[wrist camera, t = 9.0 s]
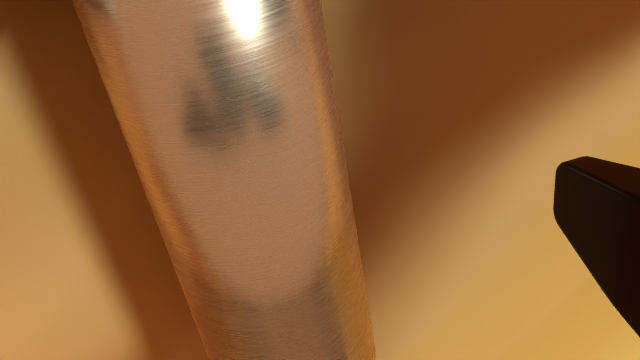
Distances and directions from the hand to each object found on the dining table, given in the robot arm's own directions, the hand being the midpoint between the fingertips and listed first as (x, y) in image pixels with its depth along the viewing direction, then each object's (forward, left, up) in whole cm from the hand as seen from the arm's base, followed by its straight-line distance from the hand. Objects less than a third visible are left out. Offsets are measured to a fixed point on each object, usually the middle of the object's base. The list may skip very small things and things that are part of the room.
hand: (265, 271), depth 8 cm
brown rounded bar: (0, 0, -7) cm, 7 cm away
